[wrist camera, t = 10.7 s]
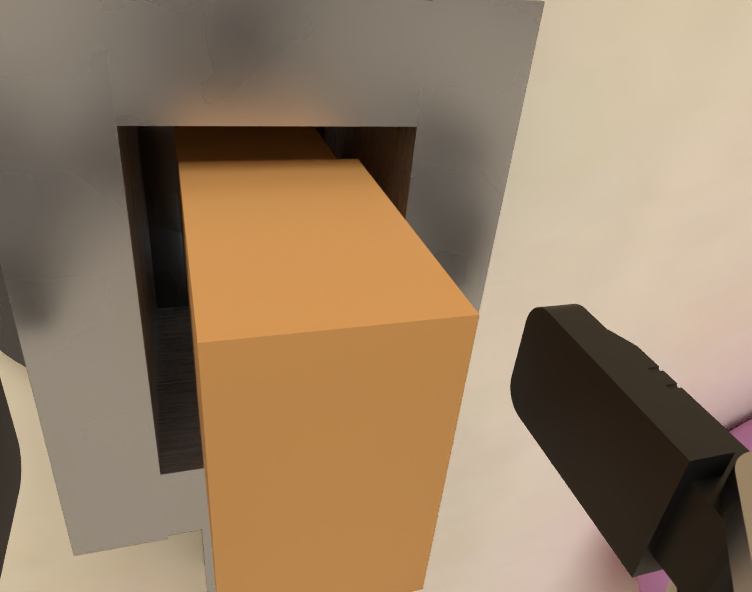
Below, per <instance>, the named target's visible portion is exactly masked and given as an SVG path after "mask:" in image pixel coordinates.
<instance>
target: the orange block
mask: <svg viewBox="0 0 752 592" xmlns="http://www.w3.org/2000/svg"><path fill="white" fill-rule="evenodd" d="M173 128H174V140H175V152H176V164H177V176H178V188H179V200H180V212H181V224H182V236H183V248H184V260H185V270H186V281H187V291H188V302H189V312H190V323H191V333H192V344H193V354H194V364H195V375H196V386H197V398H198V409H199V420H200V430H201V441H202V451H203V462H204V472H205V483H206V493H207V504H208V514H209V525H210V535H211V546H212V556H213V567H214V577H215V588H216V592H412V591H416V590H421V589H423V585H424V580H425V575H426V570H427V565H428V561H429V556H430V551H431V546H432V541H433V536H434V532H435V527H436V522H437V517H438V512H439V508H440V503H441V498H442V493H443V488H444V483H445V479H446V474H447V469H448V464H449V459H450V454H451V450H452V445H453V440H454V435H455V430H456V426H457V421H458V416H459V411H460V406H461V401H462V397H463V392H464V387H465V382H466V377H467V372H468V368H469V363H470V358H471V353H472V348H473V343H474V339H475V334H476V329H477V324H478V319H479V313H478V312H477V311H476V310H475V308H474V307H473V306H472V304H471V303H470V302H469V301H468V299H467V298H466V297H465V295H464V294H463V293H462V292H461V290H460V289H459V288H458V287H457V285H456V284H455V283H454V281H453V280H452V279H451V278H450V276H449V275H448V274H447V272H446V271H445V270H444V269H443V267H442V266H441V265H440V263H439V262H438V261H437V260H436V258H435V257H434V256H433V254H432V253H431V252H430V251H429V249H428V248H427V247H426V246H425V244H424V243H423V242H422V240H421V239H420V238H419V237H418V235H417V234H416V233H415V231H414V230H413V229H412V228H411V226H410V225H409V224H408V222H407V221H406V220H405V219H404V217H403V216H402V215H401V214H400V212H399V211H398V210H397V208H396V207H395V206H394V205H393V203H392V202H391V201H390V199H389V198H388V197H387V196H386V194H385V193H384V192H383V190H382V189H381V188H380V187H379V185H378V184H377V183H376V181H375V180H374V179H373V178H372V176H371V175H370V174H369V173H368V171H367V170H366V169H365V167H364V166H363V165H362V164H361V162H360V161H359V160H358V159H337V158H336V157H335V155H334V154H333V153H332V151H331V150H330V148H329V147H328V146H327V144H326V143H325V141H324V140H323V138H322V137H321V136H320V134H319V133H318V131H317V130H316V128H315V127H314V126H173Z"/></svg>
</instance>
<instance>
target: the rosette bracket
mask: <svg viewBox="0 0 752 592" xmlns="http://www.w3.org/2000/svg"><path fill="white" fill-rule="evenodd" d="M543 7H544V1H541V0H0V350H1V351H2V352H3V353H5V354H6V355H7V356H9V357H10V358H12V359H13V360H15V361H17V362H18V363H20V364H22V365H24V366H25V367H26V368H27V372H28V376H29V380H30V384H31V388H32V392H33V396H34V400H35V404H36V408H37V412H38V416H39V420H40V423H41V427H42V431H43V435H44V439H45V443H46V447H47V451H48V455H49V459H50V463H51V467H52V471H53V475H54V479H55V483H56V487H57V491H58V495H59V499H60V503H61V507H62V511H63V515H64V519H65V523H66V527H67V531H68V535H69V539H70V543H71V547H72V551H73V555H74V556H77V555H83V554H88V553H93V552H99V551H104V550H110V549H115V548H121V547H126V546H131V545H137V544H142V543H148V542H153V541H159V540H164V539H168V535H174V534H179V533H185V532H190V531H196V530H201V529H202V535H203V548H204V560H205V572H206V584H207V592H216V588H215V577H214V567H213V556H212V546H211V535H210V525H209V514H208V504H207V493H206V483H205V472H204V462H203V451H202V441H201V430H200V420H199V409H198V398H197V386H196V375H195V364H194V354H193V344H192V333H191V323H190V312H189V302H188V291H187V281H186V270H185V260H184V248H183V236H182V224H181V212H180V200H179V188H178V176H177V164H176V152H175V140H174V128H173V126H314V127H315V128H316V130H317V131H318V133H319V134H320V136H321V137H322V138H323V140H324V141H325V143H326V144H327V146H328V147H329V148H330V150H331V151H332V153H333V154H334V155H335V157H336V158H337V159H358V160H359V161H360V162H361V164H362V165H363V166H364V167H365V169H366V170H367V171H368V173H369V174H370V175H371V176H372V178H373V179H374V180H375V181H376V183H377V184H378V185H379V187H380V188H381V189H382V190H383V192H384V193H385V194H386V196H387V197H388V198H389V199H390V201H391V202H392V203H393V205H394V206H395V207H396V208H397V210H398V211H399V212H400V214H401V215H402V216H403V217H404V219H405V220H406V221H407V222H408V224H409V225H410V226H411V228H412V229H413V230H414V231H415V233H416V234H417V235H418V237H419V238H420V239H421V240H422V242H423V243H424V244H425V246H426V247H427V248H428V249H429V251H430V252H431V253H432V254H433V256H434V257H435V258H436V260H437V261H438V262H439V263H440V265H441V266H442V267H443V269H444V270H445V271H446V272H447V274H448V275H449V276H450V278H451V279H452V280H453V281H454V283H455V284H456V285H457V287H458V288H459V289H460V290H461V292H462V293H463V294H464V295H465V297H466V298H467V299H468V301H469V302H470V303H471V304H472V306H473V307H474V308H475V310H476V311H477V312H478V313H479V309H480V304H481V300H482V295H483V290H484V286H485V281H486V276H487V271H488V267H489V262H490V257H491V252H492V248H493V243H494V238H495V234H496V229H497V224H498V219H499V215H500V210H501V205H502V201H503V196H504V191H505V186H506V182H507V177H508V172H509V168H510V163H511V158H512V153H513V149H514V144H515V139H516V135H517V130H518V125H519V120H520V116H521V111H522V106H523V102H524V97H525V92H526V87H527V83H528V78H529V73H530V68H531V64H532V59H533V54H534V50H535V45H536V40H537V35H538V31H539V26H540V21H541V17H542V12H543Z"/></svg>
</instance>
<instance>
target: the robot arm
mask: <svg viewBox="0 0 752 592" xmlns="http://www.w3.org/2000/svg"><path fill="white" fill-rule="evenodd" d="M510 390H511V398H512V402H513V405H514V408H515V410H516V413H517V414H518V416H519V417H520V419H521V420H522V422H523V423H524V425H525V426H526V427H527V429H528V430H529V432H530V433H531V434H532V436H533V437H534V439H535V440H536V442H537V443H538V444H539V446H540V447H541V449H542V450H543V451H544V453H545V454H546V456H547V457H548V459H549V460H550V461H551V463H552V464H553V466H554V467H555V469H556V470H557V471H558V473H559V474H560V476H561V477H562V478H563V480H564V481H565V483H566V484H567V486H568V487H569V488H570V490H571V491H572V493H573V494H574V495H575V497H576V498H577V500H578V501H579V503H580V504H581V505H582V507H583V508H584V510H585V511H586V513H587V514H588V515H589V517H590V518H591V520H592V521H593V522H594V524H595V525H596V527H597V528H598V530H599V531H600V532H601V534H602V535H603V537H604V538H605V539H606V541H607V542H608V544H609V545H610V547H611V548H612V549H613V551H614V552H615V554H616V555H617V557H618V558H619V559H620V561H621V562H622V564H623V565H624V566H625V568H626V569H627V571H628V572H629V574H630V575H631V576H632V577H636V576H640V575H644V574H648V573H652V572H655V571H659V570H664V571H665V573H666V574H667V575H668V577H669V578H670V579H671V581H670V583H669V585H668V587H667V589H666V592H752V451H749V450H748V449H747V448H746V447H745V446H744V445H743V444H742V443H741V442H739V441H738V440H737V439H736V438H735V437H734V436H733V435H732V434H731V433H730V432H729V431H728V430H727V429H726V428H724V427H723V426H722V425H721V424H720V423H719V422H718V421H717V420H716V419H715V418H714V417H713V416H712V415H710V414H709V413H708V412H707V411H706V410H705V409H704V408H703V407H702V406H701V405H700V404H699V403H698V402H697V401H695V400H694V399H693V398H692V397H691V396H690V395H689V394H688V393H687V392H686V391H685V390H684V389H683V388H678V387H677V383H676V382H675V381H674V380H673V379H672V378H671V377H670V376H669V375H668V374H666V373H665V372H664V371H660V370H659V366H658V365H657V364H656V363H655V362H654V361H653V360H651V359H650V358H649V357H648V356H647V355H646V354H645V353H644V352H643V351H642V350H641V349H640V348H639V347H637V346H636V345H634V344H632V343H631V342H629V341H627V340H625V339H624V338H622V337H620V336H618V335H617V334H615V333H613V332H611V331H610V330H607V329H606V328H605V327H604V326H603V325H602V324H601V323H600V322H599V321H598V320H597V319H596V318H595V317H594V316H592V315H591V314H590V313H589V312H588V311H587V310H586V309H585V308H584V307H583V306H581V305H579V304H568V305H558V306H547V307H537V308H534V309H533V310H532V311H531V312H530V313H529V315H528V317H527V320H526V324H525V328H524V331H523V335H522V339H521V343H520V347H519V350H518V354H517V358H516V362H515V366H514V370H513V373H512V377H511V385H510ZM20 482H21V456H20V448H19V443H18V439H17V436H16V432H15V428H14V425H13V421H12V418H11V414H10V411H9V407H8V404H7V400H6V397H5V393H4V390H3V386H2V382H1V379H0V577H1V573H2V568H3V563H4V559H5V554H6V549H7V545H8V540H9V536H10V531H11V526H12V522H13V517H14V512H15V508H16V503H17V499H18V494H19V489H20Z"/></svg>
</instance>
